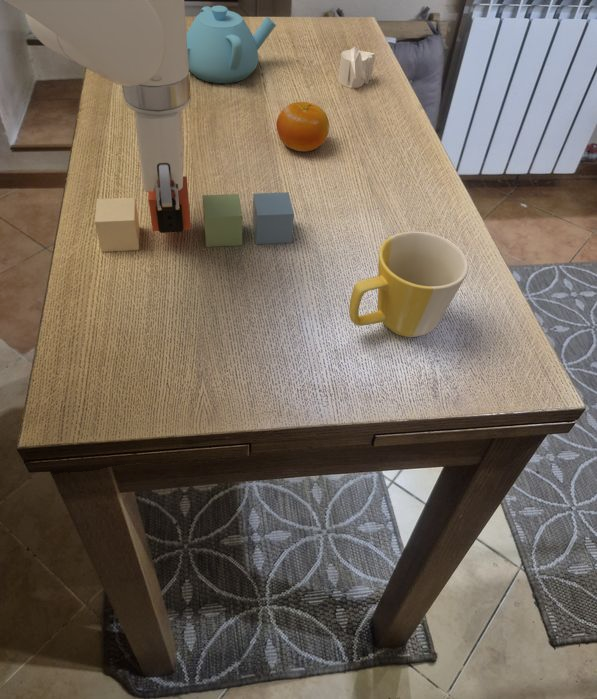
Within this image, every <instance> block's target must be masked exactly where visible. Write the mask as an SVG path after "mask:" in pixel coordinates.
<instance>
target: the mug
mask: <svg viewBox="0 0 597 699" xmlns="http://www.w3.org/2000/svg"><path fill="white" fill-rule="evenodd" d="M377 267H378V268H377V270H378V271H377V272H378V276H373V277H369V278H365V279H361V280H358V281H356V283H355V284H354V286H353V289H352V291H351V296H350V300H349V308H348V315H349V319H350V321H351V322H352V324H354V325H355V326H357V327H362V326H368V325H374V324H378V323H383V325H384V326H385V327H386V328H388V329H389V330H390V331H391V332H393V333H394V334H396V335H398V336H401V337H406V338H415V337H421V336H425V335H427V334H429V333H431V332H432V331H434V329H436V327H438V324H439V323H440V321H441V319H442V318H443V316H444V314H445V313H446V311H447V310H448V308H449V306H450V304H451V303H452V301H453V300H454V298H455V296H456V294H457V293H458V292H459V290H460V288H461V286H462V285H463V283H464V281H465V280H466V277H467V275H468V272H469V268H470V267H469V261H468V258H467V256H466V254H465V253H464V252H463V250H462V249H461V248H460V247H459V246H458V245H457V244H455V243H454V242H452V241H451V240H450V239H447V238H445V237H443V236H441V235H438V234H435V233H433V232H427V231H412V230H411V231H410V230H409V231H404V232H399V233H396V234H394V235H391V236H390V237H388V238H386V239H385V240H384V241H383V243H382V244H381V246H380V248H379V251H378V266H377ZM374 290H377V308H376V310H377V311H374V312H370V313H365V314H361V315H359V311H360V310H359V309H360V305H361V302H362V298H363V296H364V295H365V294H366V293H368V292H369V291H374Z"/></svg>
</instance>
